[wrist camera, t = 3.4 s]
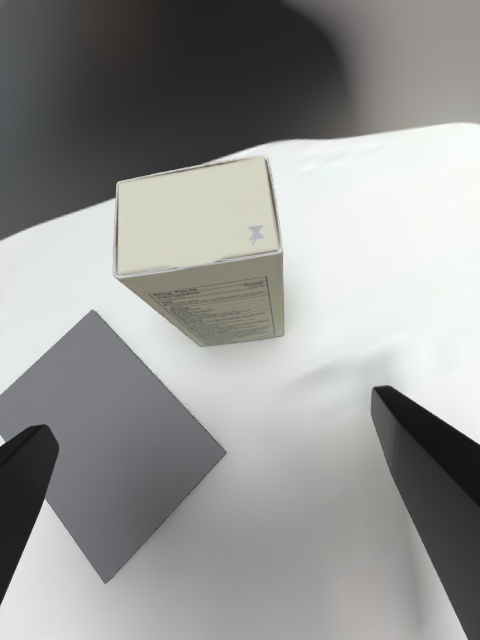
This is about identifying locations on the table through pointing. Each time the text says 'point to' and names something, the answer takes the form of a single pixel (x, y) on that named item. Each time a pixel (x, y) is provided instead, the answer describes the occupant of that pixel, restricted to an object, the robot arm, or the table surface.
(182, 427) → the mat
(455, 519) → the robot arm
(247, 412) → the table surface
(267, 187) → the skincare box
